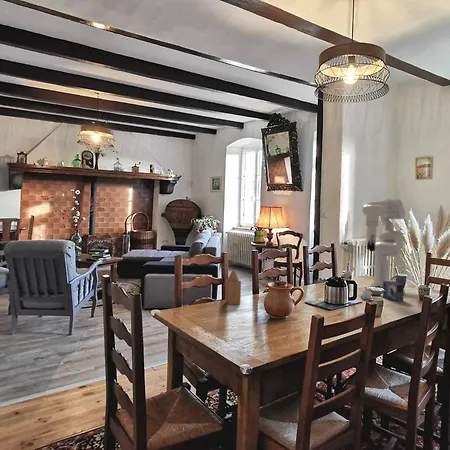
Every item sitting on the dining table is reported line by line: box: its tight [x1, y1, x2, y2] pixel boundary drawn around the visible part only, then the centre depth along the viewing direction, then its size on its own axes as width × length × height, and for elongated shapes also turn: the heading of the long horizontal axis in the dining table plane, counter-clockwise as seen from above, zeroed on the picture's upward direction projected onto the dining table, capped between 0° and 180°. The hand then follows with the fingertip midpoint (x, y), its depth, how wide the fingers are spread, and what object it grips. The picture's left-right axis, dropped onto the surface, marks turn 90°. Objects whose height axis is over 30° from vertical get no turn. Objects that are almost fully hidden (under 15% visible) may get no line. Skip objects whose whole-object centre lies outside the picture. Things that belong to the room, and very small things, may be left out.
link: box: [361, 288, 371, 299], centre depth 234 cm, size 6×6×5 cm
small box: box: [382, 280, 405, 303], centre depth 236 cm, size 11×6×10 cm, turn 25°
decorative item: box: [224, 268, 242, 306], centre depth 216 cm, size 7×7×20 cm
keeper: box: [360, 288, 371, 301], centre depth 234 cm, size 8×8×6 cm
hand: (370, 250), depth 250 cm, fingers open, 9 cm apart
